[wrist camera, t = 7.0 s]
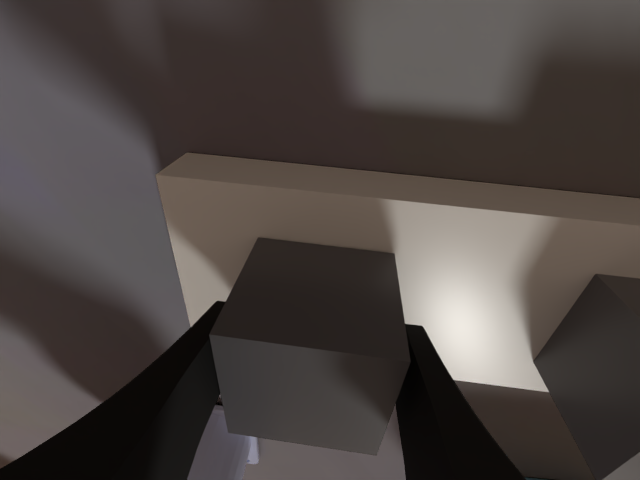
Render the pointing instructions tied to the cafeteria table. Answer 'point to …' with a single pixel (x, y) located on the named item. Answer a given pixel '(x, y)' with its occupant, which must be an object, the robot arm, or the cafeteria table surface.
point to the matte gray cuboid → (312, 345)
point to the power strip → (450, 273)
